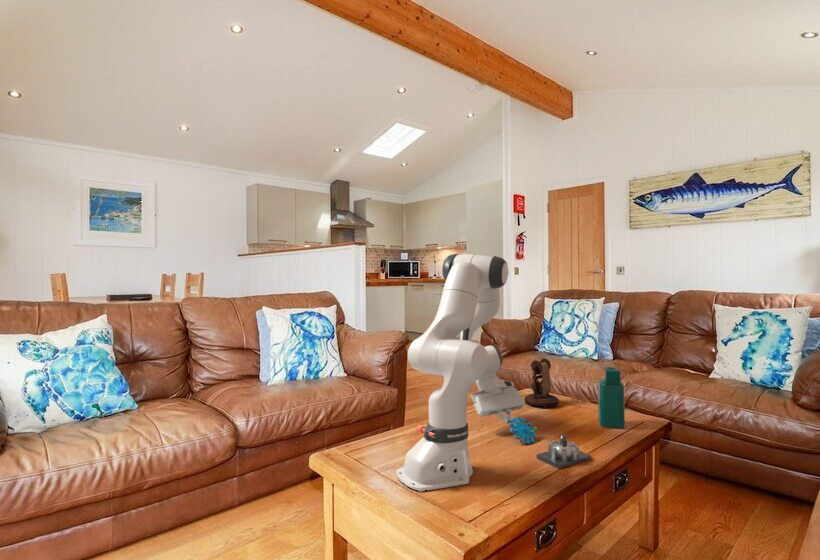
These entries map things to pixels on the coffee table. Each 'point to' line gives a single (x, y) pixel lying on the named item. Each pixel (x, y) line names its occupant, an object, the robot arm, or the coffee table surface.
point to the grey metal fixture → (563, 453)
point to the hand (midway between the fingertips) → (509, 422)
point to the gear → (523, 430)
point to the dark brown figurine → (541, 385)
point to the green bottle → (611, 399)
